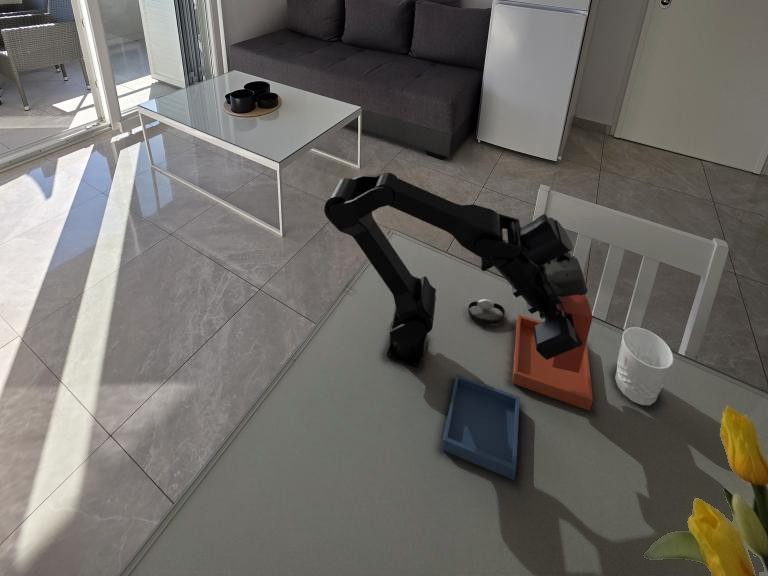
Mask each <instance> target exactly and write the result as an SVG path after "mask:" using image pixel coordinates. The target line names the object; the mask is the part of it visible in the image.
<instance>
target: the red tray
mask: <svg viewBox="0 0 768 576" xmlns="http://www.w3.org/2000/svg"><path fill="white" fill-rule="evenodd" d="M542 322H543V321H539V320H537V319H535V318H534V319H533V318H530V317H527V316H524V315H521V314H518V315H517V319H516V324H515V340H514V355H513V367H512V384H513V385H515V386H518V387H521V388H524V389H527V390H530V391H533V392H536V393H539V394H541V395H544V396H546V397H549V398H553V399H555V400H558V401H562V402H564V403H567V404H570V405H573V406H576V407H578V408H581V409H584V410H587V411H591V408H592V405H593V401H594V399H593V391H592V390H593V389H592V388H593V387H592V379H591V370H590V359H589V351H588V341H587V342H586V346H585V350H584V354H583V358H582V362H581V366H580V370H579V373H576V372H572V371H567V370H563V369H558V368H554V367H552V363H551V358H550V359H548V360H546V359H545V358H543V357H542V356H541V355H540V354H539V352H538V351H537V350H536V344H535V337H534V328H535V325H537V324H540V323H542Z"/></svg>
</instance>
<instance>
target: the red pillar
mask: <svg viewBox="0 0 768 576" xmlns="http://www.w3.org/2000/svg"><path fill="white" fill-rule="evenodd" d="M559 296H560V295H559ZM560 297H561V299H562V303H559V304H558V309H559V310H561V311H562V312H563V314H564V315H565V316H566V315H569V314H571V315H572V319H573V323H574V330H575V332H576V333H577V335H578V336H579V338H580V339H581V341H582V343H583V345H582V346H580V347H576V348H574V349H572V350H570V351H567V352H565V353H562V354H560V355H558V356H555V357H553V358H551V363H552V367H554V368H558V369H563V370H567V371H572V372H576V373H579V370H580V366H581V362H582V358H583V354H584V350H585V346H586V342H587V343H588V338H589V333H590V329H591V326H592V322H593V318H594V317H593V313H592V310H591V306H590V303H589V300H588V296H587V295H586V294H585V295H573V296H566V297H562V296H560Z"/></svg>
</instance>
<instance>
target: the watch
mask: <svg viewBox="0 0 768 576" xmlns="http://www.w3.org/2000/svg"><path fill="white" fill-rule="evenodd" d="M473 307H479V308H480V309H482V310H483V309H484V310H489V309H492V308H494V309H497V310H499V311H500V313H501V314H502V317H499V318H498V319H487V318H486V319H485V318H480V317H477V316H476V315H474V314H473V313H472V311H471V308H473ZM467 311H468V315H469V317H470V319H472V320H473V321H475V322H476V323H479V324H482V325H486V326H490V325H497V324H500V323H501V322H502V321H503V320H504V317H505V314H506V311H505V308H504V307H503V305H502V304H499V303H495V302H493V301H492V300H491V299H488V298H482V299H479V300H477V301H472V302H470V303H469V305H468V310H467Z"/></svg>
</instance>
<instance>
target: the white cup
mask: <svg viewBox="0 0 768 576" xmlns="http://www.w3.org/2000/svg"><path fill="white" fill-rule="evenodd" d="M673 364H674V353H673V352H672V350H671V348H670V347H669V345H668V344H667V342H666V341H665V340H664V339H662V338H661V337H660V336H658V335H657V334H656V333H654V332H652V331H650V330H649V329H646V328H642V327H638V326H632V327H628V328H626V329H624V331H623V332H622V337H621V341H620V346H619V351H618V356H617V362H616V366H617V367H616V372H615V376H614V378H615V382H616V385H617V387H618V389H619V390H620V392H621V393H622V394H623V395H624V396H625V397H626V398H628V399H629V400H630V401H631V402H633V403H635V404H637V405H640V406H652V405H653V404H654V403H655V402H657V399H658V396H659V394H660V392H661V391H662V389H663V388H664V385H665V382H666V380H667V378H668V375H669V373H670V370H671V368H672V366H673Z"/></svg>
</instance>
